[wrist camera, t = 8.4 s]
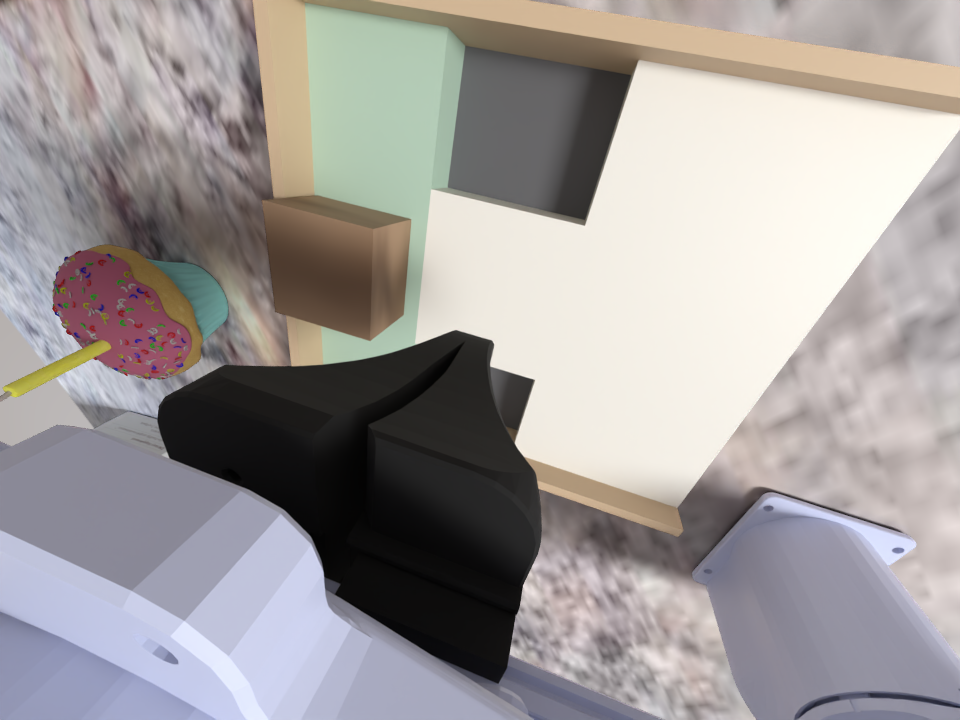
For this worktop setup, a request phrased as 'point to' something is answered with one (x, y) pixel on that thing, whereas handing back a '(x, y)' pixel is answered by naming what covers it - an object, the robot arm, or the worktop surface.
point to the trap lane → (599, 207)
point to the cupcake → (131, 314)
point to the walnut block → (337, 263)
